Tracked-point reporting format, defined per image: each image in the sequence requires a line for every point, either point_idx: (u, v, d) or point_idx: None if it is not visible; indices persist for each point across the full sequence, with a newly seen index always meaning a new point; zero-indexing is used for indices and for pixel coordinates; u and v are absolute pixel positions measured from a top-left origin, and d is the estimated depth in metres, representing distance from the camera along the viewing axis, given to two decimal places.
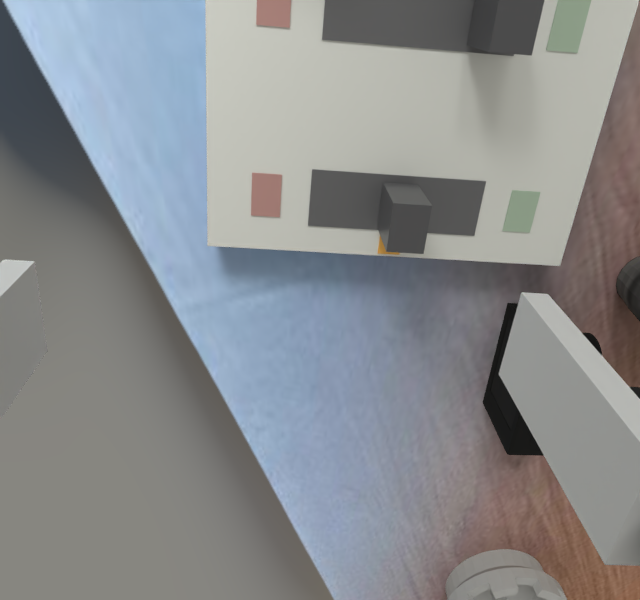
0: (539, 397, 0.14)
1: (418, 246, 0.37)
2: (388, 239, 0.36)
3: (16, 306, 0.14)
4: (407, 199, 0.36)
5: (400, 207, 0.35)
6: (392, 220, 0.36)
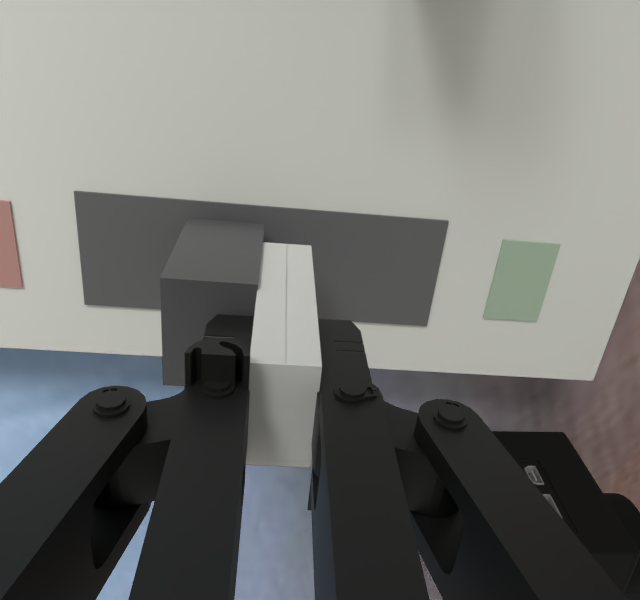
0: None
1: None
2: (164, 358, 0.15)
3: None
4: (208, 263, 0.15)
5: (179, 287, 0.14)
6: (164, 316, 0.15)
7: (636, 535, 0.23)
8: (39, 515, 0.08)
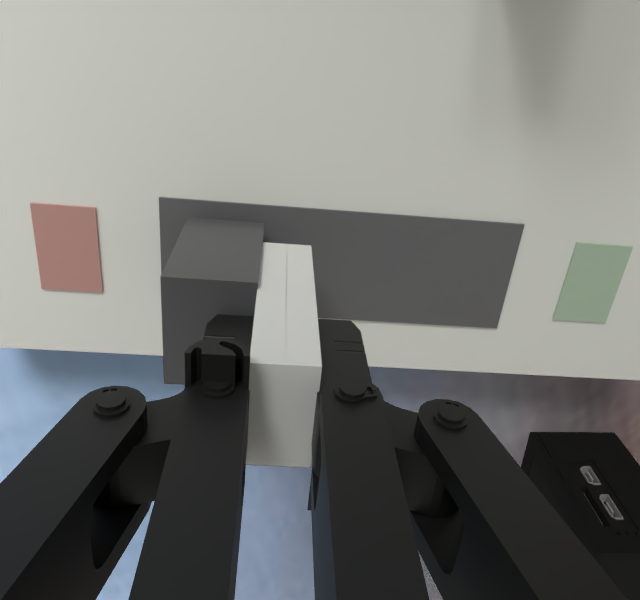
0: None
1: None
2: (165, 356, 0.15)
3: None
4: (209, 262, 0.15)
5: (180, 286, 0.14)
6: (165, 315, 0.15)
7: None
8: (39, 515, 0.08)
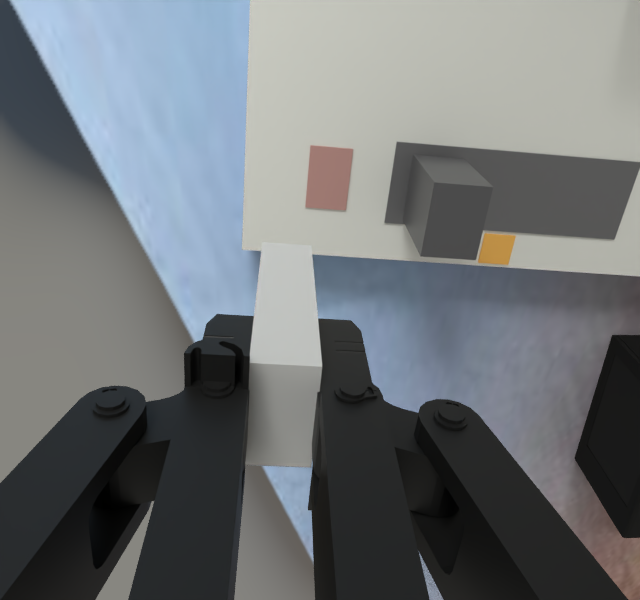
0: None
1: (469, 248, 0.24)
2: (424, 238, 0.24)
3: None
4: (454, 177, 0.24)
5: (445, 188, 0.23)
6: (431, 208, 0.23)
7: None
8: (39, 515, 0.08)
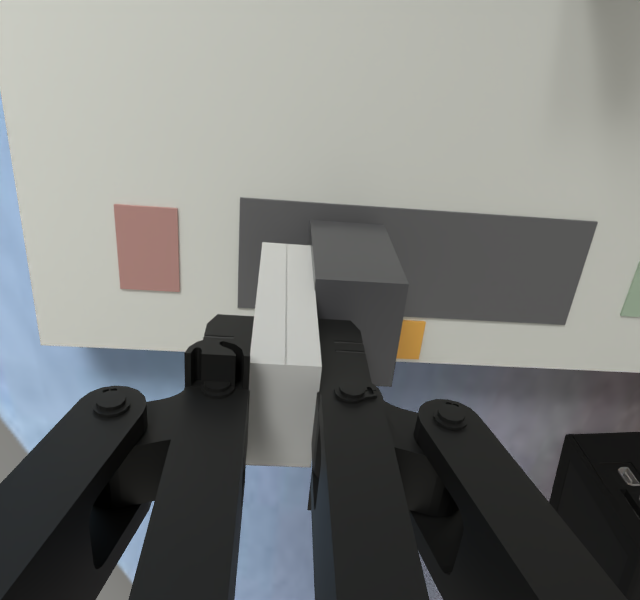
0: None
1: (379, 371, 0.16)
2: None
3: None
4: (353, 264, 0.16)
5: (333, 288, 0.15)
6: None
7: None
8: (39, 515, 0.08)
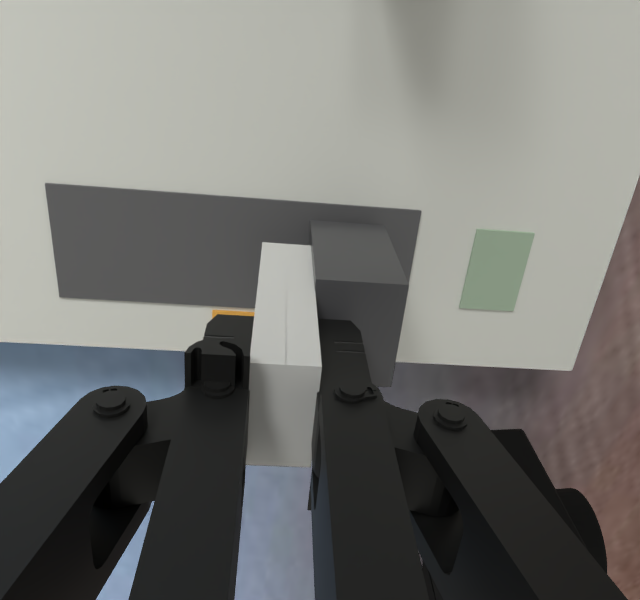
0: None
1: (379, 371, 0.16)
2: None
3: None
4: (353, 265, 0.16)
5: (333, 288, 0.15)
6: None
7: (587, 530, 0.23)
8: (39, 515, 0.08)
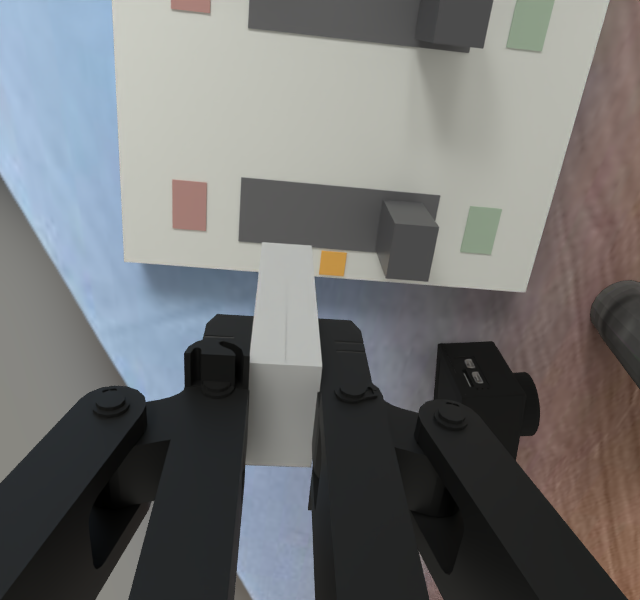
0: None
1: (422, 273, 0.32)
2: (388, 264, 0.32)
3: None
4: (411, 218, 0.32)
5: (403, 228, 0.31)
6: (393, 242, 0.31)
7: (528, 390, 0.39)
8: (39, 515, 0.08)
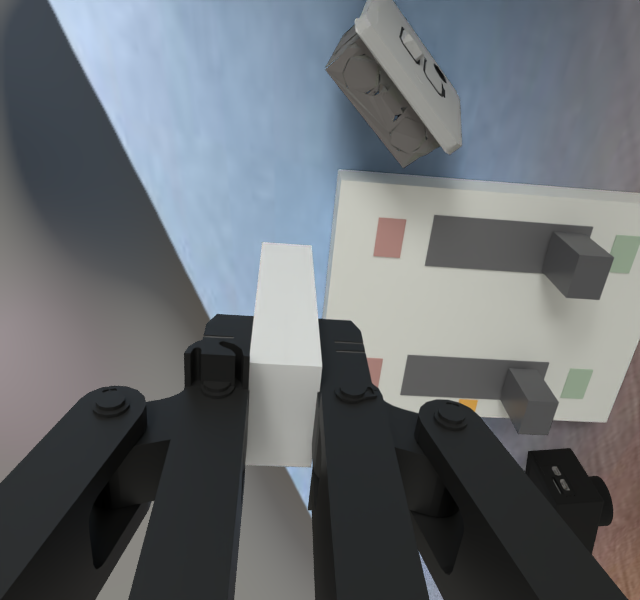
0: None
1: (544, 430, 0.45)
2: (520, 425, 0.45)
3: None
4: (536, 393, 0.45)
5: (533, 403, 0.44)
6: (526, 412, 0.44)
7: (603, 494, 0.52)
8: (39, 515, 0.08)
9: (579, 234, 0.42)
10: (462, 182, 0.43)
